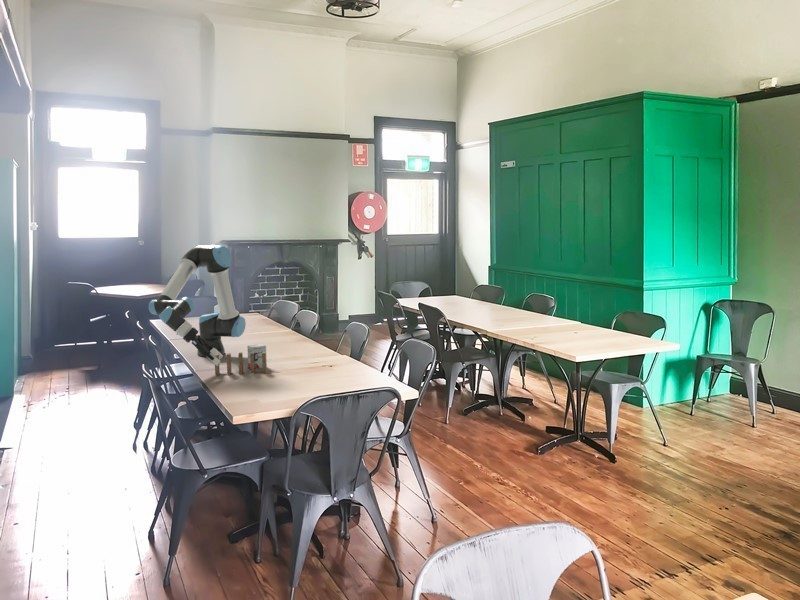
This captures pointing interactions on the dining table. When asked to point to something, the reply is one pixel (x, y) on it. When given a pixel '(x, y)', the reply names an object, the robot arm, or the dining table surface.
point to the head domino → (217, 365)
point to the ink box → (256, 355)
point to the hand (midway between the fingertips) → (220, 360)
